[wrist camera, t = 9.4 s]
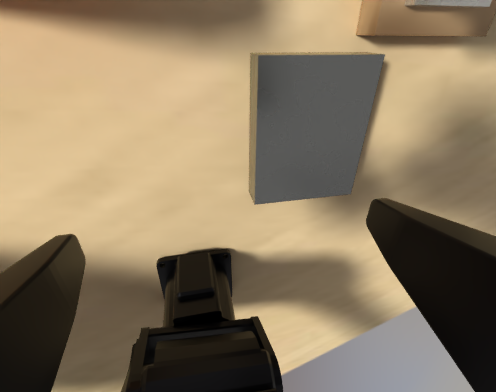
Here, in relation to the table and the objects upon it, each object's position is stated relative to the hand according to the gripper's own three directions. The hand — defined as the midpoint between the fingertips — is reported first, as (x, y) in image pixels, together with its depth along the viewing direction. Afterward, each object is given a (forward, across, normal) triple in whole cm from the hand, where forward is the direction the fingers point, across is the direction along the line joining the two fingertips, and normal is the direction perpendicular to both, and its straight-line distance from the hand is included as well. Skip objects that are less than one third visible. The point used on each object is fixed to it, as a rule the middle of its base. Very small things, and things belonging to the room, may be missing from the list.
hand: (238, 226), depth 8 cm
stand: (+12, -7, +1) cm, 14 cm away
